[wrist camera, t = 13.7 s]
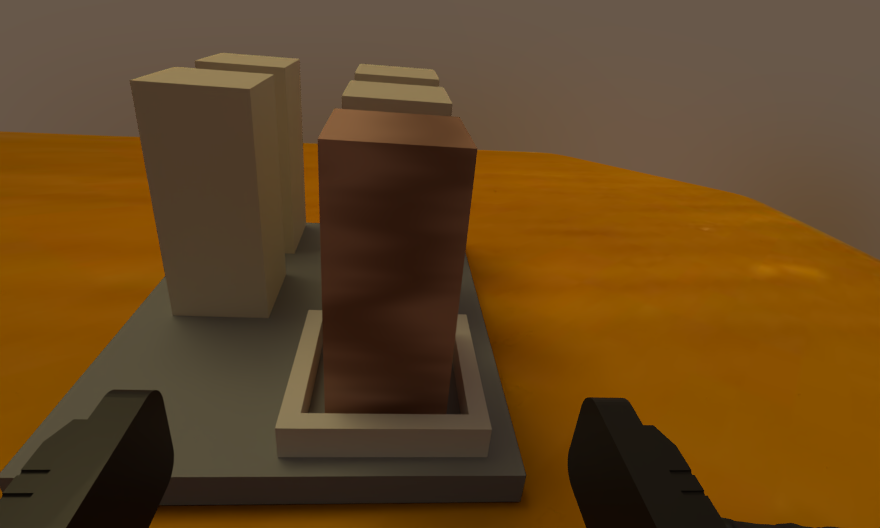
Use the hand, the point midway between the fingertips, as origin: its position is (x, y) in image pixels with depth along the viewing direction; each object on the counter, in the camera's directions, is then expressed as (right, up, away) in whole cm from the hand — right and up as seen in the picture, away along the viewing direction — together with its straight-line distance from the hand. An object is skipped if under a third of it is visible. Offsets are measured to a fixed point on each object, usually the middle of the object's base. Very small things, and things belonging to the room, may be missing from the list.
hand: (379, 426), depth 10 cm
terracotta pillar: (-1, -3, +14) cm, 14 cm away
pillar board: (-6, -1, +20) cm, 21 cm away
